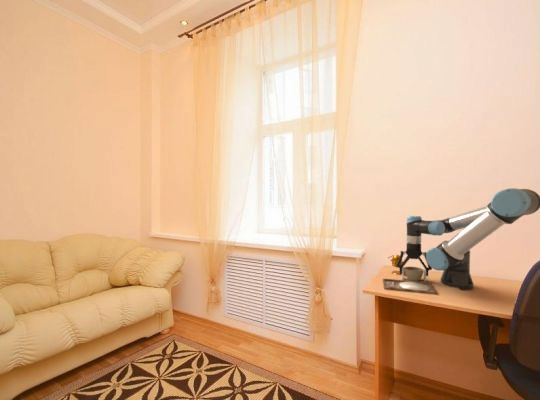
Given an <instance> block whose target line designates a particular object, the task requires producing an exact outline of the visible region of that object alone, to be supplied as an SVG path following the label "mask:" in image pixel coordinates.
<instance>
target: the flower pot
mask: <svg viewBox="0 0 540 400" xmlns="http://www.w3.org/2000/svg"><path fill="white" fill-rule="evenodd" d="M403 267H404V266H403ZM424 270H425V269H423V268H421V267H418V266H417V267H416V266H405V267H404V271H405V274H406V275H405V276H406V278H407V281H417V282H420V280H421V279H422V277H423V276H424Z"/></svg>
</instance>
